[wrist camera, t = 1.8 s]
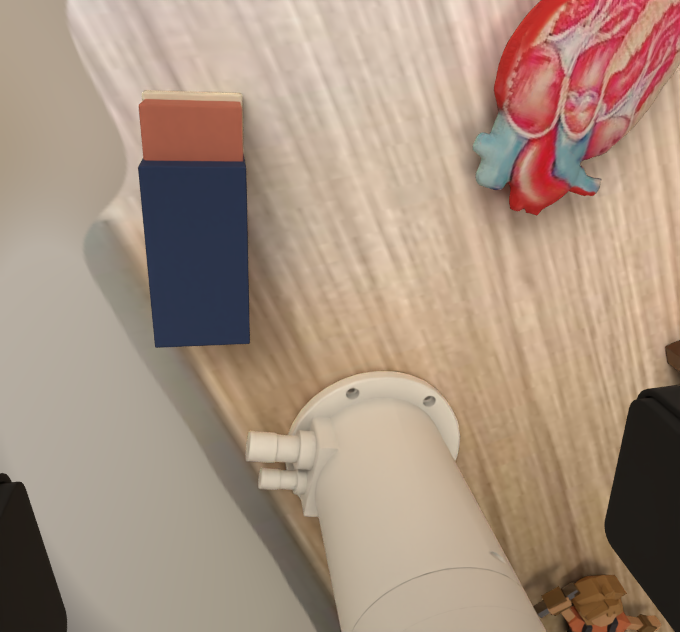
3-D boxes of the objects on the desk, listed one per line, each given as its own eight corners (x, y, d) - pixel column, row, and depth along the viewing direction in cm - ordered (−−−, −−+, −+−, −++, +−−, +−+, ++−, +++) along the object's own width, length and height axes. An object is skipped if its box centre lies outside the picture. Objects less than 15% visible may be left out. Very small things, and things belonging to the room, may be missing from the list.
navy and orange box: (246, 314, 38) (250, 352, 34) (163, 316, 37) (155, 356, 33) (241, 93, 33) (244, 103, 28) (144, 90, 32) (131, 100, 27)
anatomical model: (694, -10, 34) (752, -14, 30) (552, 225, 39) (586, 247, 35) (566, -100, 31) (612, -117, 28) (429, 167, 36) (452, 184, 32)
